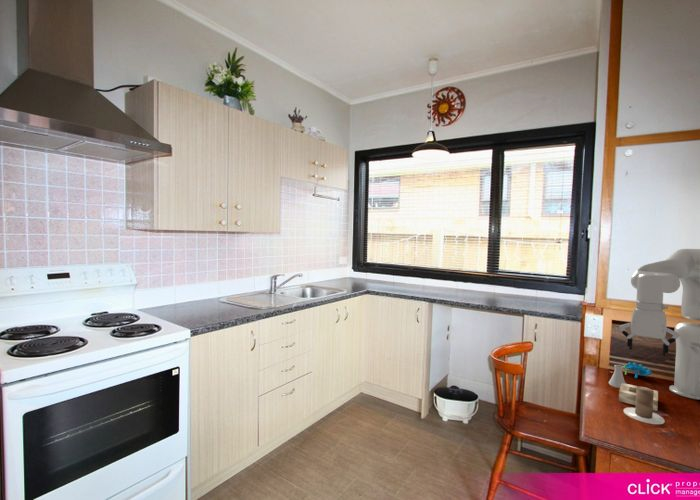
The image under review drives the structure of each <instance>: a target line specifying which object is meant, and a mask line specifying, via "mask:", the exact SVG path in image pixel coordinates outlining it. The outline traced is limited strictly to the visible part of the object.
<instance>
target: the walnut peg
mask: <svg viewBox="0 0 700 500" xmlns="http://www.w3.org/2000/svg"><path fill="white" fill-rule="evenodd" d="M653 390H654V389H652V388H649V387H646V386H638V387H637V389H636V405H635V407H634V408H635V414H636V415H638V416H640V417H643V418H648V419H651V418H652V415H653V413H654V410H653V397H654V391H653Z"/></svg>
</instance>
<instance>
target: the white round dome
mask: <svg viewBox="0 0 700 500" xmlns="http://www.w3.org/2000/svg"><path fill="white" fill-rule="evenodd" d="M635 408H636V407H625V408H623V413H624V415H626V416H628V417H629V418H631V419H633V420H636V421H638V422H642V423H646V424H651V425H663V424H664V423H665V422H666V421H665V419H664V417H662V416H660V415H659V414H658V413H655V412H653V415H652V418H651V419H648V418H643V417H640V416H638V415H636V414H635Z"/></svg>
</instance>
